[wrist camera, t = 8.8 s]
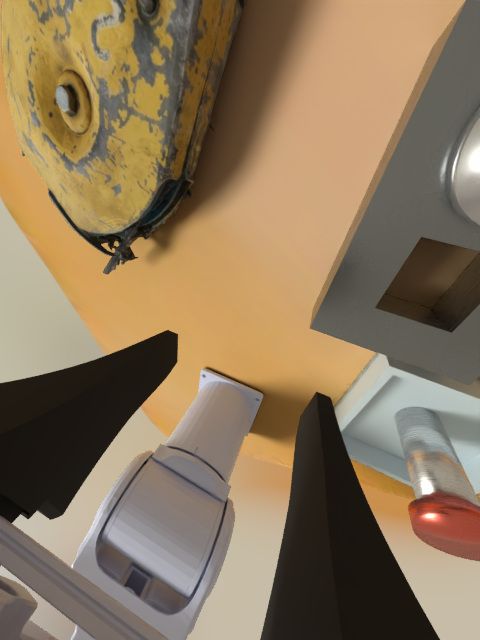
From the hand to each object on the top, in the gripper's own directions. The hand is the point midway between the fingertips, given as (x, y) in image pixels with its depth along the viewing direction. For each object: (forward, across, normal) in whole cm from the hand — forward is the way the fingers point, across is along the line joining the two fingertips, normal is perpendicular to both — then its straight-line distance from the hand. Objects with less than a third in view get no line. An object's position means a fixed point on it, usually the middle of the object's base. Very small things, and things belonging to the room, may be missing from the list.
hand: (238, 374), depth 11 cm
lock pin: (+9, -15, +7) cm, 18 cm away
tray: (+9, -15, +7) cm, 19 cm away
